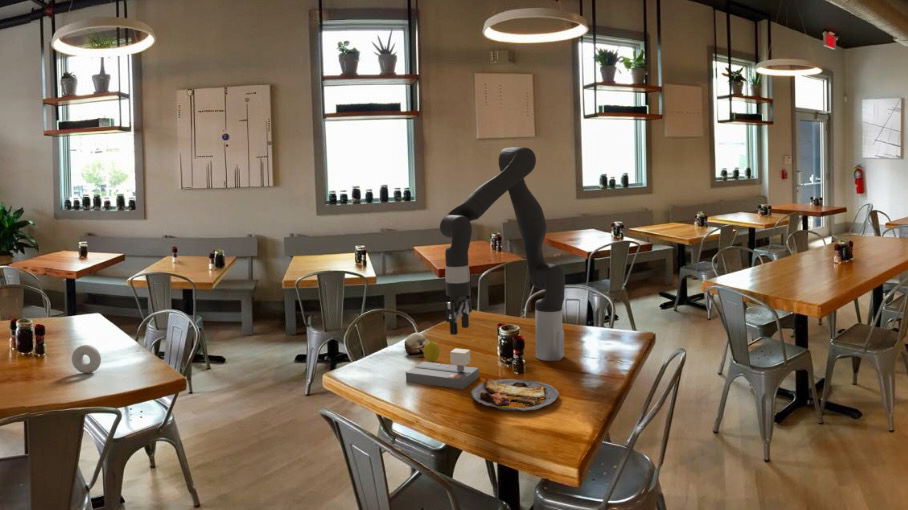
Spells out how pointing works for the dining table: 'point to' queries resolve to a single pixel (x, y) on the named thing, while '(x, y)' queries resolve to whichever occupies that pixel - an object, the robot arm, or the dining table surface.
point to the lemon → (431, 351)
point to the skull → (415, 345)
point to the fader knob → (460, 358)
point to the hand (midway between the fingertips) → (459, 330)
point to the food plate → (514, 393)
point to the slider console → (442, 375)
